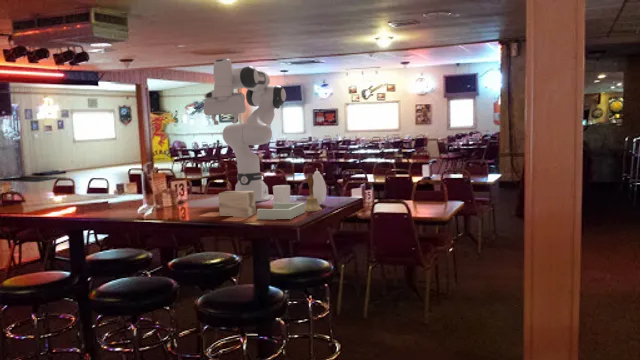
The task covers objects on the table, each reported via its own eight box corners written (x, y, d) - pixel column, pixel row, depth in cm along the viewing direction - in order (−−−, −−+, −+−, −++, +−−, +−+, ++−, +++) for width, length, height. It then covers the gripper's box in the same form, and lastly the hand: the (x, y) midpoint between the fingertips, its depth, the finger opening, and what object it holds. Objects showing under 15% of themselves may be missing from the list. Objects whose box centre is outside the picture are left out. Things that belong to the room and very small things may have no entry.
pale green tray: (274, 212, 239) (273, 202, 239) (304, 212, 235) (304, 203, 234) (257, 219, 222) (256, 209, 222) (289, 219, 218) (289, 209, 217)
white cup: (274, 209, 246) (273, 187, 245) (272, 207, 254) (271, 185, 253) (292, 208, 248) (291, 186, 247) (289, 206, 255) (288, 184, 254)
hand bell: (309, 212, 235) (308, 174, 234) (299, 210, 242) (297, 173, 240) (325, 209, 240) (324, 173, 239) (314, 207, 247) (313, 172, 245)
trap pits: (210, 212, 244) (210, 212, 244) (260, 213, 237) (260, 212, 237) (186, 220, 226) (186, 219, 226) (240, 221, 218) (240, 220, 218)
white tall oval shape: (325, 205, 251) (323, 166, 250) (308, 206, 253) (306, 166, 251) (328, 203, 259) (326, 165, 257) (311, 203, 261) (310, 165, 259)
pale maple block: (228, 213, 240) (227, 190, 239) (255, 214, 236) (254, 190, 235) (219, 216, 233) (218, 193, 232) (247, 217, 229) (246, 193, 228)
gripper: (247, 92, 253) (248, 123, 253) (208, 96, 259) (209, 125, 260) (241, 91, 247) (242, 122, 247) (201, 94, 253) (202, 125, 254)
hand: (225, 124), depth 253 cm, fingers open, 8 cm apart
